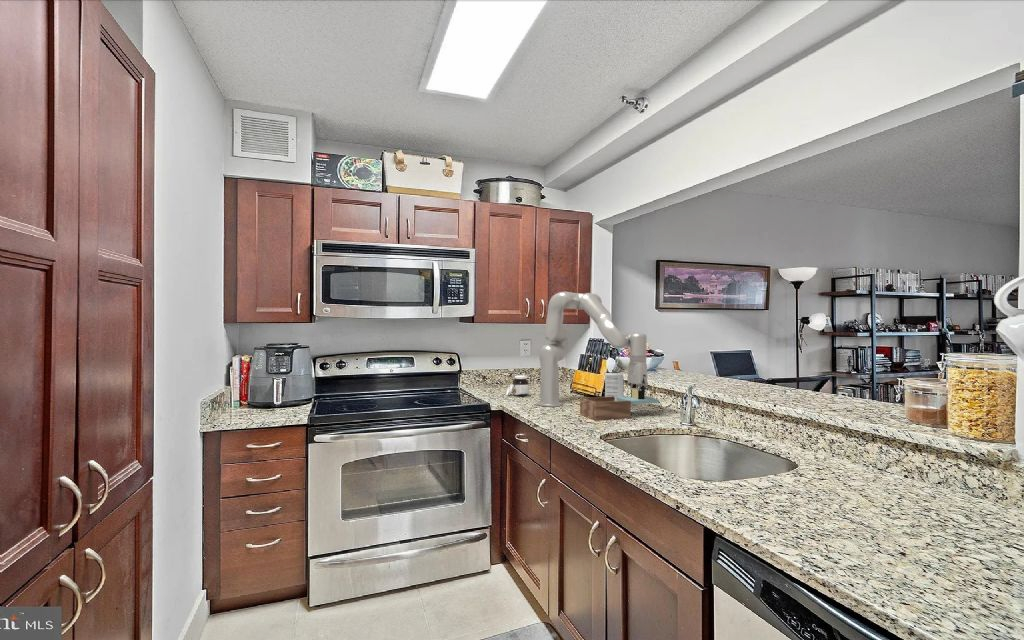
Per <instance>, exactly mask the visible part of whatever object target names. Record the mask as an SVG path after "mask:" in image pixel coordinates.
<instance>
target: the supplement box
mask: <svg viewBox="0 0 1024 640" xmlns="http://www.w3.org/2000/svg"><path fill="white" fill-rule="evenodd" d="M604 379H605V380H604V383H605V384H604V387H605V389H604V391H605V392H604V397H612V396H614V397H615V401H617V397H624V393H625V392H624V384H625V383H624V373H619V372H618V373H612V372H606V373H605V376H604Z"/></svg>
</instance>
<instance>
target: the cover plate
mask: <svg viewBox="0 0 1024 640" xmlns="http://www.w3.org/2000/svg"><path fill="white" fill-rule="evenodd" d="M638 391H639V387H637V388H632V397H631V396H623V397H617V401H631V405H642V404H643V405H644V404H658V403H660V399H658V398H654V397H650V396H646V395H645V399H638Z"/></svg>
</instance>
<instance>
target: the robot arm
mask: <svg viewBox="0 0 1024 640" xmlns="http://www.w3.org/2000/svg"><path fill="white" fill-rule="evenodd" d="M547 306H548V307H547V315H546V320H545V327H544V337H545V339H546V341H549V342H550V343H548V344H544V345H543V346H542V347H541V348H540V350H539V351H538V352H539V354H538V355H539V364H540V365H539V366H540V393H539V394H540V396H539V399H540V400H539V401H537V405H538V406H540V407H550V408H551V407H552V408H553V407H562V404H563V403H562V402H561V401H560V399H559V398H560V397H559V396H560V369H559V363H558V362H560V361H562V360H564V359H565V357H566V355H567V349H568V344H569V343H568V342H569V337H570V336H569V328H568V327H567V326H566V325H565V324H564V309H569V310H582V311H583V310H584V312H585V313H586V314H587V315H588V316H589V317H590V319H592V321H593V322H594V323H595V324H596V326H597V328H598V330H599V331H600V333H601V335H602V336H603V338H604V339H605V340H607V342H608V343H609V344H610V345H611V346H612V347H613V348H614V349H626V348H628V349H629V361H628V362H629V363H628V367H627V383H628V384H629V389H630V397H632V388H639V391H638V399H645V396H646V389H647V387H648V386H649V382H648V366H647V342H648V341H647V340H648V339H647V338H648V337H647V335H646V333H640V332H639V333H638V332H635V333H634V332H633V333H630V332H623V331H622V332H621V331H620V330H619V329H618V328H617V326H616V325H615V324H614V322H613V320H612V316H611V315H612V314H611V312H610V311H609V310H608V309H607V308H606V307H605V306H604V304H603V301H602V297H600V296H599V294H597V293H591V292H585V293H579V292H578V293H577V292H570V291H559V292H557V293H555V294H553V295H552V296H551V298H550V300H549V302H548V305H547Z"/></svg>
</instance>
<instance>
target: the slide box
mask: <svg viewBox="0 0 1024 640" xmlns="http://www.w3.org/2000/svg"><path fill="white" fill-rule="evenodd" d="M631 406H632V404H631V401H615V397H614V396H612V397H605V396H596V397H580V398H579V415H580V416H582V417H585V418H587V419H589V420H593V421H595V422H598V421H611V419H614V420H624V419H625V418H628V419H631V413H632V411H631V410H632V409H631Z"/></svg>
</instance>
